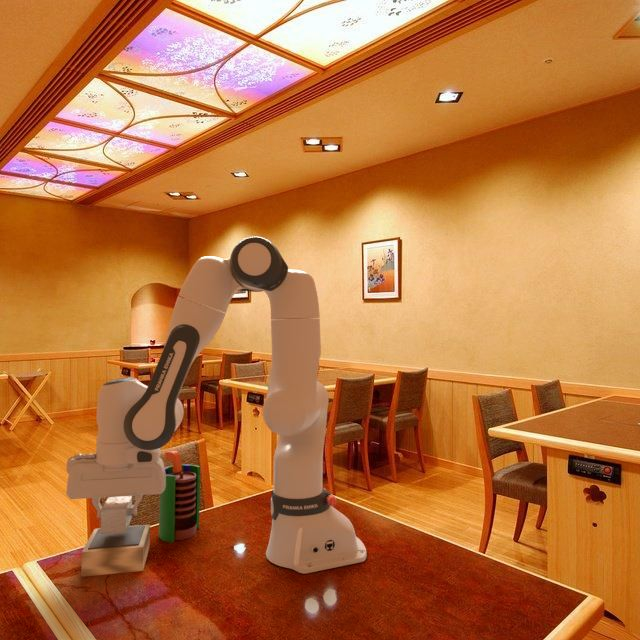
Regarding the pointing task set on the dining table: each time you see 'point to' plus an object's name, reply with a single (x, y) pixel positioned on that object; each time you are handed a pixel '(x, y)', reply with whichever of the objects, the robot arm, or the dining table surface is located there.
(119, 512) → the block
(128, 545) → the stand
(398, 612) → the dining table surface
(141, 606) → the dining table surface
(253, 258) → the robot arm
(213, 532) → the dining table surface
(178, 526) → the motor
